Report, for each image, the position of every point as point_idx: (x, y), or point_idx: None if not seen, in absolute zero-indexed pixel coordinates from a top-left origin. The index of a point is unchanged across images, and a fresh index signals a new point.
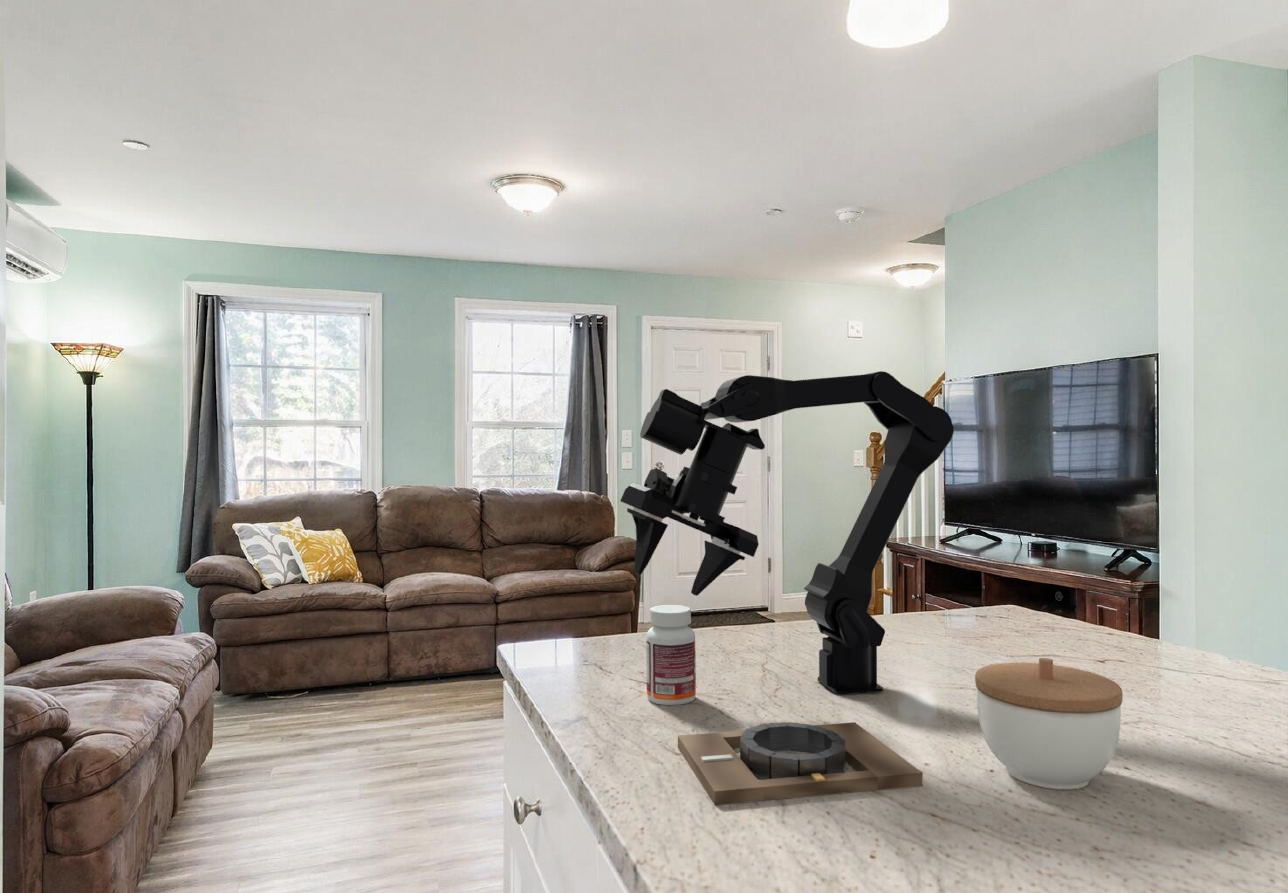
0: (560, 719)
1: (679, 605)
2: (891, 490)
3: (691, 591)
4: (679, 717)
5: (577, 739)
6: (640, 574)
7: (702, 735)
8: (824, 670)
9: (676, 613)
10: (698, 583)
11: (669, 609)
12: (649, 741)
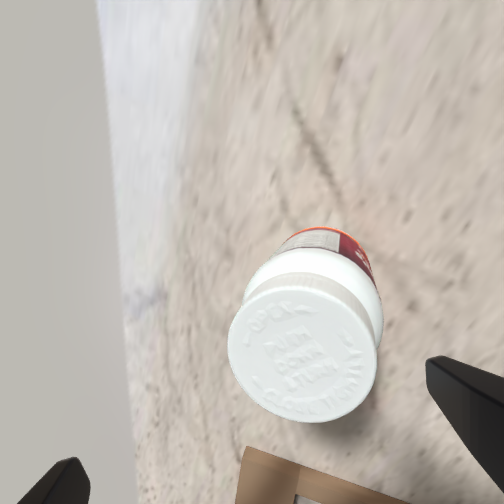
0: (133, 287)
1: (357, 324)
2: None
3: (429, 363)
4: None
5: (142, 364)
6: (88, 487)
7: (273, 474)
8: None
9: (291, 418)
10: (472, 427)
11: (292, 361)
12: (221, 412)
